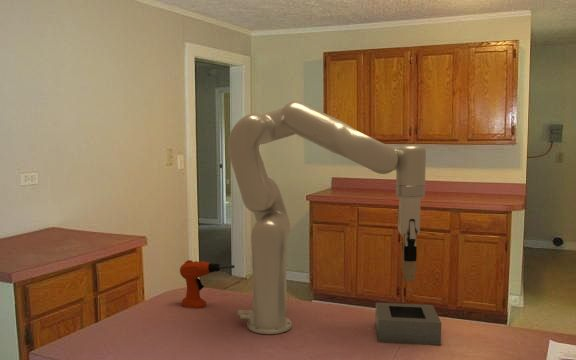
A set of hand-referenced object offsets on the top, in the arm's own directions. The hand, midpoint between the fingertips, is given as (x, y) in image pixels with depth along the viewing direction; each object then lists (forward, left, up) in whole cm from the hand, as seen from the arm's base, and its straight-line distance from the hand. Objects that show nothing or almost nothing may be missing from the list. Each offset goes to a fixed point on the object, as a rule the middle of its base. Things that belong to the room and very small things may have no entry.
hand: (409, 258), depth 138 cm
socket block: (0, 0, -21) cm, 21 cm away
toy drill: (-60, +14, -21) cm, 65 cm away
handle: (0, 0, -6) cm, 6 cm away
